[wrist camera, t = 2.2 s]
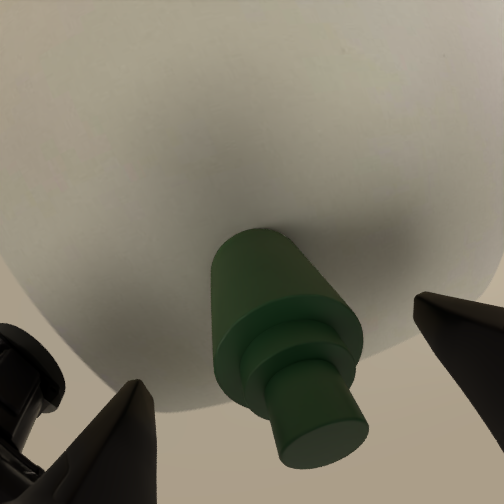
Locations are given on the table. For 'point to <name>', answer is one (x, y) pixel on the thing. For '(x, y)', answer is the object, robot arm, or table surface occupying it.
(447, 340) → the robot arm
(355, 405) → the green bottle
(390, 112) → the table surface
